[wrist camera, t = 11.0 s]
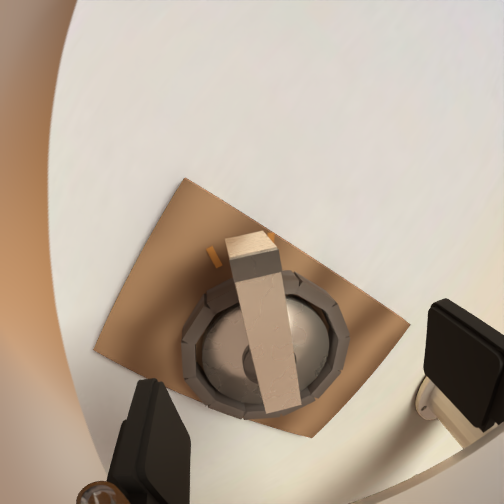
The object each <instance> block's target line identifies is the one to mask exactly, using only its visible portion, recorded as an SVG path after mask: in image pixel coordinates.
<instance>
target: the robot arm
mask: <svg viewBox="0 0 504 504" xmlns="http://www.w3.org/2000/svg"><path fill="white" fill-rule="evenodd" d="M423 368H424V372H425V375H426V378H425V379H424V381H423V383H422V385H421V386H420V389H419V391H418V393H417V397H416V402H415V407H416V411H417V412H418V414H419V415H420V416H421V417H422V418H423V419H426V420H434V419H439V420H440V422H441V423H442V424H443V425H444V426H445V428H446V429H447V430H448V431H449V432H450V433H451V435H452V436H453V437H454V438H455V439H456V441H457V442H458V443H459V444H460V445H461V447H462V448H463V450H461V451H460V452H458V453H456V454H455V455H453V456H451V457H449V458H448V459H446V460H444V461H442V462H441V463H439V464H437V465H435V466H433V467H432V468H430V469H428V470H426V471H424V472H422V473H420V474H418V475H416V476H414V477H412V478H410V479H408V480H406V481H403V482H401V483H399V484H397V485H395V486H392V487H390V488H388V489H385V490H383V491H381V492H378V493H376V494H373V495H371V496H368V497H366V498H363V499H360V500H358V501H355V502H352V503H349V504H504V335H503V334H501V333H500V332H498V331H497V330H495V329H494V328H492V327H491V326H489V325H488V324H486V323H485V322H483V321H482V320H480V319H479V318H477V317H475V316H474V315H472V314H471V313H469V312H468V311H466V310H465V309H463V308H461V307H460V306H458V305H457V304H455V303H454V302H452V301H450V300H449V299H447V298H445V299H442V300H439V301H437V302H434V303H433V304H432V305H431V308H430V309H429V311H428V322H427V336H426V348H425V357H424V367H423ZM190 453H191V441H190V437H189V434H188V432H187V430H186V428H185V426H184V424H183V422H182V420H181V418H180V416H179V414H178V412H177V410H176V408H175V406H174V404H173V402H172V400H171V398H170V396H169V393H168V391H167V389H166V387H165V385H164V383H163V382H162V381H160V382H158V380H157V379H156V378H151V379H144V380H139V381H138V383H137V386H136V389H135V393H134V396H133V400H132V403H131V406H130V410H129V413H128V417H127V420H124V421H123V423H122V425H121V428H120V432H119V435H118V439H117V443H116V446H115V450H114V454H113V458H112V461H111V465H110V469H109V473H108V477H107V481H97V482H93V483H90V484H88V485H87V486H85V487H84V488H83V489H82V490H81V491H80V492H79V494H78V496H77V500H76V504H190Z"/></svg>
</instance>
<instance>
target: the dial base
mask: <svg viewBox="0 0 504 504" xmlns="http://www.w3.org/2000/svg"><path fill="white" fill-rule="evenodd" d="M259 231H264V233H265V234H266V235H267V236H268V237H269V238H270V240H271V241H272V242H273V243H274V244H275V245H276V246H277V249H279V254H280V260H281V266H282V272H281V274H282V280H283V286H284V292H285V294H293V295H296V296H297V297H299V298H301V299H303V300H304V301H306V302H307V303H308V304H309V305H310V306H311V307H312V308H313V309H314V311H315V312H316V313H317V315H318V316H319V317H320V319H321V320H322V321H323V323H324V325H325V327H326V330H327V333H328V337H329V352H328V356H327V360H326V362H325V364H324V367H323V368H322V370H321V372H320V373H319V375H318V376H317V377H316V378H315V379H314V381H313V382H312V383H311V384H309V385H308V386H307V387H306V388H305V389H303V390H302V391H300V398H301V405H298V406H295V407H291V408H287V409H284V410H280V411H276V412H272V413H268V414H266V411H265V407H264V404H250V403H244V402H239V401H236V400H233V399H231V398H229V397H227V396H225V395H224V394H222V393H221V392H219V391H218V390H217V389H216V388H215V387H214V386H213V385H212V384H211V383H210V381H209V379H208V378H207V376H206V374H205V371H204V368H203V362H202V341H203V336H204V332H205V330H206V328H207V326H208V325H209V323H210V322H211V320H212V319H213V317H214V316H215V314H217V313H218V312H220V311H222V310H224V309H226V308H228V307H230V306H232V305H234V304H236V303H238V302H239V301H238V296H237V292H236V287H235V283H234V280H233V275H232V271H231V266H230V262H229V256H228V251H227V247H226V242H225V239H227V238H232V237H236V236H241V235H245V234H250V233H255V232H259ZM409 326H410V324H409V323H408V322H407V321H405V320H404V319H403V318H402V317H400V316H399V315H397V314H396V313H394V312H393V311H392V310H390V309H389V308H387V307H386V306H384V305H383V304H381V303H380V302H378V301H377V300H375V299H374V298H372V297H371V296H369V295H368V294H367V293H365V292H364V291H362V290H361V289H359V288H358V287H356V286H355V285H353V284H352V283H350V282H349V281H347V280H346V279H344V278H343V277H341V276H340V275H338V274H337V273H335V272H334V271H332V270H331V269H329V268H327V267H326V266H324V265H323V264H321V263H320V262H318V261H317V260H315V259H314V258H312V257H311V256H309V255H308V254H306V253H305V252H303V251H301V250H300V249H298V248H297V247H295V246H294V245H292V244H291V243H289V242H288V241H286V240H284V239H283V238H281V237H280V236H278V235H277V234H275V233H274V232H272V231H270V230H269V229H267V228H266V227H264V226H263V225H261V224H259V223H258V222H256V221H255V220H253V219H252V218H250V217H248V216H247V215H245V214H244V213H242V212H240V211H239V210H237V209H236V208H234V207H232V206H231V205H229V204H228V203H226V202H224V201H223V200H221V199H220V198H218V197H216V196H215V195H213V194H212V193H210V192H208V191H207V190H205V189H203V188H202V187H200V186H199V185H197V184H195V183H194V182H192V181H190V180H189V179H187V178H184V179H183V181H182V182H181V184H180V186H179V187H178V189H177V191H176V192H175V194H174V196H173V197H172V199H171V201H170V202H169V204H168V206H167V207H166V209H165V211H164V212H163V214H162V216H161V218H160V219H159V221H158V223H157V225H156V226H155V228H154V230H153V232H152V233H151V235H150V237H149V239H148V241H147V242H146V244H145V246H144V248H143V250H142V251H141V253H140V255H139V257H138V259H137V261H136V263H135V265H134V266H133V268H132V270H131V272H130V274H129V276H128V278H127V280H126V282H125V284H124V286H123V288H122V290H121V292H120V294H119V296H118V298H117V300H116V302H115V304H114V306H113V308H112V310H111V312H110V314H109V316H108V319H107V321H106V323H105V325H104V327H103V329H102V331H101V334H100V336H99V338H98V340H97V342H96V345H95V347H94V349H93V350H94V351H96V352H98V353H100V354H101V355H103V356H105V357H107V358H109V359H111V360H112V361H114V362H116V363H118V364H120V365H122V366H124V367H126V368H128V369H130V370H132V371H134V372H136V373H138V374H140V375H142V376H144V377H146V378H148V379H151V378H156V379H157V380H158V382H160V381H162V382H163V383H164V385H165V387H167V388H169V389H172V390H174V391H176V392H178V393H181V394H183V395H185V396H188V397H190V398H193V399H195V400H197V401H200V402H202V403H204V404H205V405H208V407H209V408H211V409H214V410H216V411H219V412H222V413H224V414H227V415H230V416H233V417H236V418H239V419H242V417H243V418H244V420H248V419H249V420H252V421H255V422H258V423H261V424H264V425H267V426H270V427H274V428H277V429H280V430H284V431H287V432H291V433H294V434H298V435H302V436H306V437H309V438H313V437H314V436H315V435H316V434H317V433H318V432H319V431H320V430H321V429H322V428H323V427H324V426H325V425H326V424H327V423H328V422H329V421H330V420H331V419H332V418H333V417H334V416H335V415H336V414H337V413H338V412H339V411H340V409H341V408H342V407H343V406H344V405H345V404H346V403H347V402H348V401H349V400H350V399H351V398H352V397H353V395H354V394H355V393H356V392H357V391H358V390H359V389H360V388H361V386H362V385H363V384H364V383H365V382H366V381H367V379H368V378H369V377H370V376H371V375H372V374H373V372H374V371H375V370H376V369H377V368H378V366H379V365H380V364H381V363H382V361H383V360H384V359H385V358H386V356H387V355H388V354H389V353H390V351H391V350H392V349H393V348H394V346H395V345H396V344H397V342H398V341H399V340H400V338H401V337H402V336H403V334H404V333H405V332H406V330H407V329H408V327H409Z"/></svg>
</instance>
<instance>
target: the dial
mask: <svg viewBox="0 0 504 504" xmlns="http://www.w3.org/2000/svg"><path fill="white" fill-rule="evenodd" d="M225 242H226V247H227V251H228V256H229V262H230V266H231V271H232V275H233V280H234V283H235V287H236V292H237V296H238V301H239V302H238V303H236V304H234V305H232V306H230V307H228V308H226V309H224V310H222V311H220V312H218V313H217V314H215V316H214V317H213V319H212V320H211V322H210V323H209V325H208V326H207V328H206V330H205V332H204V336H203V341H202V362H203V368H204V371H205V374H206V376H207V378H208V379H209V381H210V383H211V384H212V385H213V386H214V387H215V388H216V389H217V390H218V391H219V392H221V393H222V394H224V395H225V396H227V397H229V398H231V399H233V400H236V401H239V402H244V403H250V404H264V407H265V411H266V414H268V413H272V412H276V411H280V410H284V409H287V408H291V407H295V406H298V405H301V398H300V391H302V390H303V389H305V388H306V387H307V386H308V385H309V384H311V383H312V382H313V381H314V379H315V378H316V377H317V376H318V375H319V373H320V372H321V370H322V368H323V367H324V364H325V362H326V360H327V356H328V352H329V337H328V333H327V330H326V327H325V325H324V323H323V321H322V320H321V319H320V317H319V316H318V315H317V313H316V312H315V311H314V309H313V308H312V307H311V306H310V305H309V304H308V303H307V302H306V301H304V300H303V299H301V298H299V297H297V296H296V295H293V294H285V292H284V286H283V280H282V274H281V272H282V266H281V260H280V254H279V249H277V246H276V245H275V244H274V243H273V242H272V241H271V240H270V238H269V237H268V236H267V235H266V234H265V233H264V231H259V232H255V233H250V234H245V235H241V236H236V237H232V238H227V239H225Z"/></svg>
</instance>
